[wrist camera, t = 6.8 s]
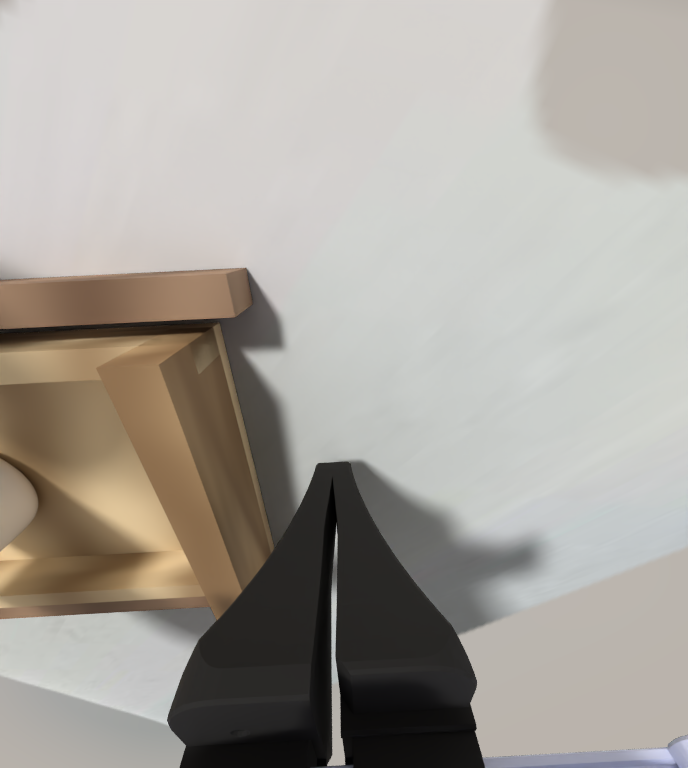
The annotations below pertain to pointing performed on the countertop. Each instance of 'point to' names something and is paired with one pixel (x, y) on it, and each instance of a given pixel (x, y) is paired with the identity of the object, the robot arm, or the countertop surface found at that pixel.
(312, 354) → the countertop surface
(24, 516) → the drinking glass
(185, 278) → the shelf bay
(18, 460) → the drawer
